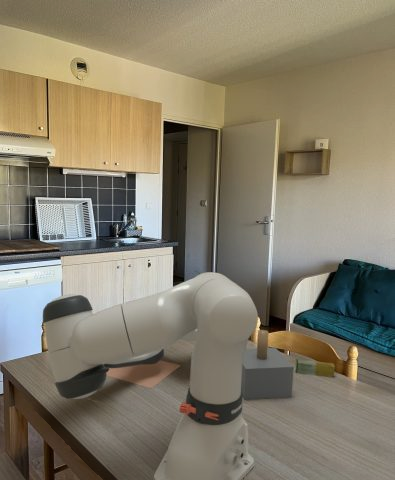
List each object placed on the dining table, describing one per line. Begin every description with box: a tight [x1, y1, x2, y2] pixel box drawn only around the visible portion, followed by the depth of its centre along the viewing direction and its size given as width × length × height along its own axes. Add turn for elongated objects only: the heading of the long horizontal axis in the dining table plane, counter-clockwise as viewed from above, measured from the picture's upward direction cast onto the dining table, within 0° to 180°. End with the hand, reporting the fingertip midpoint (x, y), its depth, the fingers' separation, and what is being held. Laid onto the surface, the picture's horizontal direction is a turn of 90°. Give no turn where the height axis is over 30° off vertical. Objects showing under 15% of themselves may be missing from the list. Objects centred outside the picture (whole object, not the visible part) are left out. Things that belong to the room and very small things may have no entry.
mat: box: [106, 359, 182, 389], centre depth 125 cm, size 18×18×1 cm
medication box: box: [294, 358, 336, 378], centre depth 128 cm, size 12×3×4 cm, turn 79°
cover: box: [241, 329, 295, 401], centre depth 117 cm, size 14×14×17 cm
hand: (225, 329), depth 121 cm, fingers open, 8 cm apart
